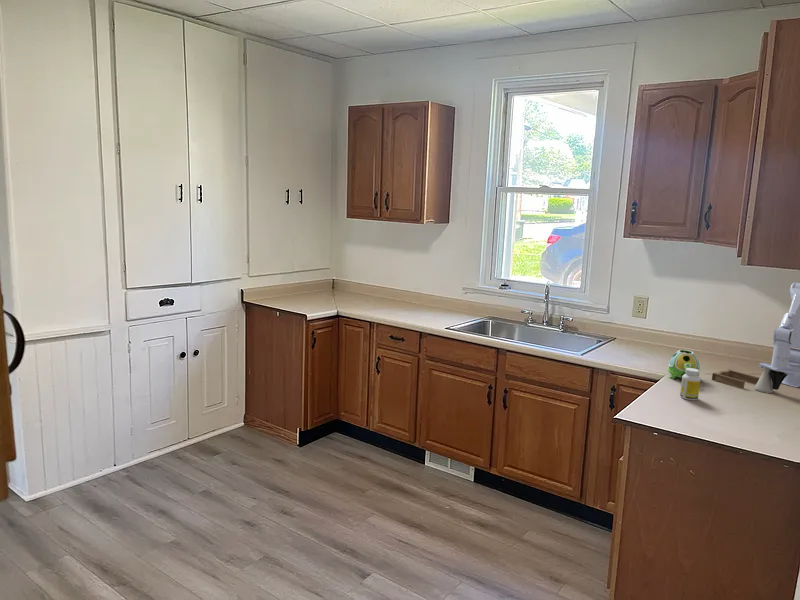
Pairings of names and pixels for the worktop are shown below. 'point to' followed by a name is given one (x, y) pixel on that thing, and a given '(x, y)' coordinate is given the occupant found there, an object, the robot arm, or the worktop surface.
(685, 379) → the pill bottle
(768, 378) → the flask
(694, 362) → the turtle holder
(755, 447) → the worktop surface
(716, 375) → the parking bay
